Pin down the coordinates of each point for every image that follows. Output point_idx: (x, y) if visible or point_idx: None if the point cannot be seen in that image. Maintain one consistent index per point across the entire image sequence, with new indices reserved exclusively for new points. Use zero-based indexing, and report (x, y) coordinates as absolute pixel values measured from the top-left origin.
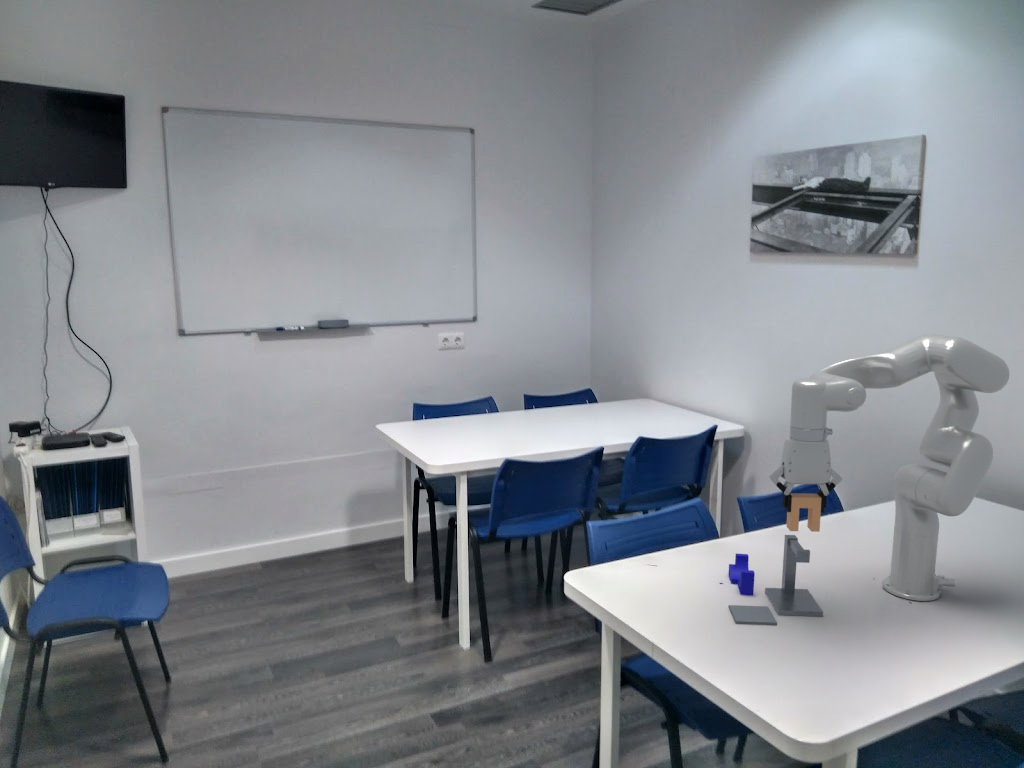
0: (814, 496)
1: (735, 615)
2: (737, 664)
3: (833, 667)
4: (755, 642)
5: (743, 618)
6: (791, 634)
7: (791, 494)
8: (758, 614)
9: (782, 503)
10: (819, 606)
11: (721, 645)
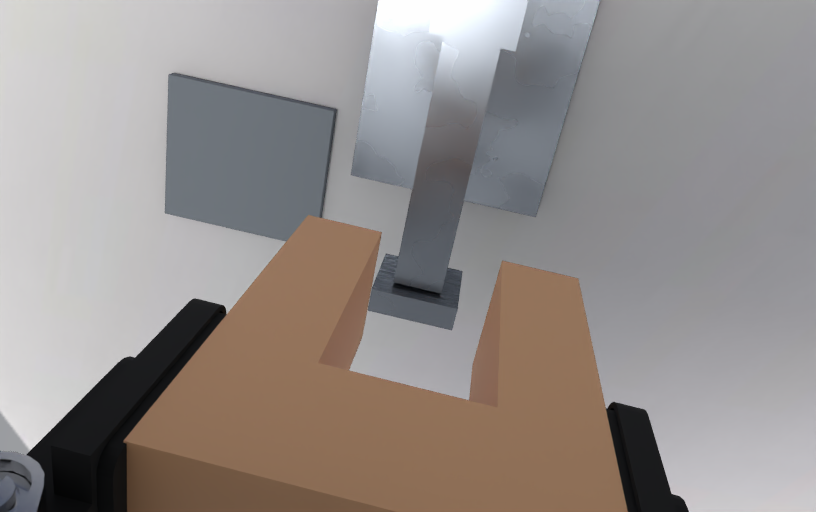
0: None
1: (174, 170)
2: None
3: None
4: None
5: (198, 197)
6: None
7: (160, 502)
8: (267, 175)
9: (120, 361)
10: (549, 169)
11: (93, 331)
